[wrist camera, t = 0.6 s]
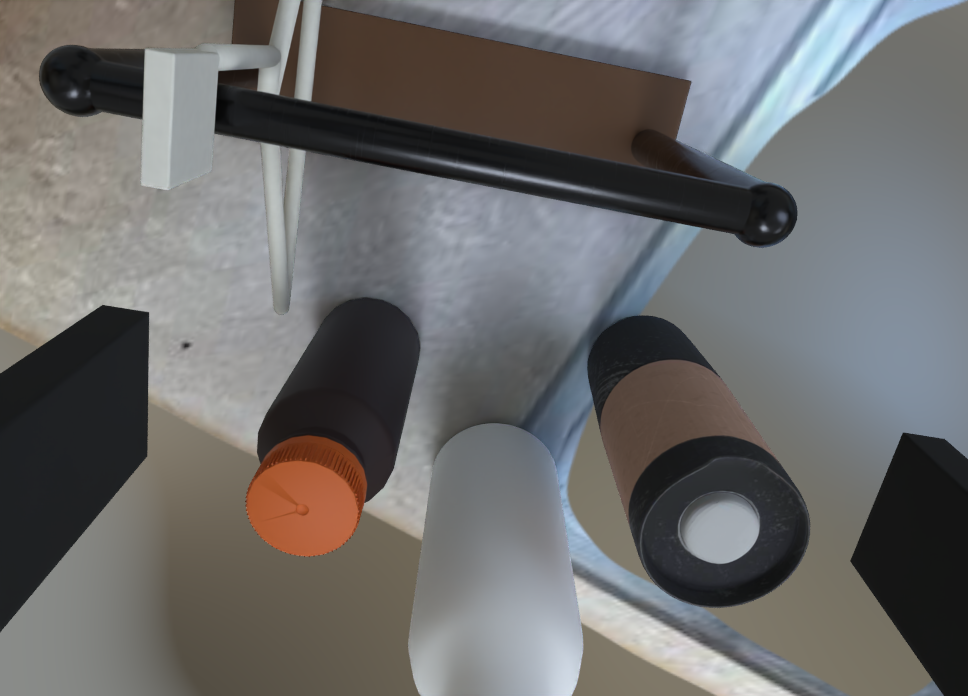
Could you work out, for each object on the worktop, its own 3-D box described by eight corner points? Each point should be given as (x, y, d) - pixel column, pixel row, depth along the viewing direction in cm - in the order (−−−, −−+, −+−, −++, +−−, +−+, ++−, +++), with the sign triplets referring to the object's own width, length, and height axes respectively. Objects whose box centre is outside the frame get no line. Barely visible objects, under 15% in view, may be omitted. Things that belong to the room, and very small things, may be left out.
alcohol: (579, 490, 56) (668, 935, 28) (475, 545, 57) (460, 1017, 29) (514, 395, 53) (540, 780, 25) (408, 456, 55) (320, 879, 27)
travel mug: (629, 436, 54) (703, 639, 35) (559, 359, 52) (599, 531, 33) (719, 369, 52) (849, 546, 34) (651, 287, 50) (747, 426, 32)
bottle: (308, 374, 53) (208, 552, 34) (332, 282, 50) (239, 419, 32) (405, 403, 53) (359, 592, 35) (433, 313, 51) (400, 464, 32)
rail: (243, -11, 44) (7, -71, 23) (685, 80, 46) (861, 105, 24) (232, 132, 47) (14, 200, 25) (650, 213, 49) (778, 342, 27)
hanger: (324, -186, 33) (158, -425, 17) (343, -182, 33) (196, -416, 17) (275, 310, 41) (129, 485, 25) (290, 313, 41) (155, 489, 25)
